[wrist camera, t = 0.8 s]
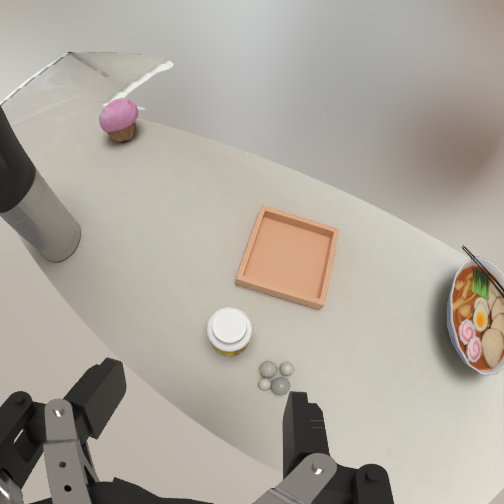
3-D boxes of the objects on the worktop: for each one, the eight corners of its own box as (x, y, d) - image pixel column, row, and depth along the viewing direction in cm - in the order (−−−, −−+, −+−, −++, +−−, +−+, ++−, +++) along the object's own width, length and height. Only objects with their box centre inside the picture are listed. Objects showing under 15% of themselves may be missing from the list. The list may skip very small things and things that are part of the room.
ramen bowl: (402, 329, 42) (430, 318, 35) (447, 246, 50) (470, 228, 43) (473, 403, 36) (502, 401, 29) (507, 317, 44) (531, 307, 36)
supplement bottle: (234, 363, 39) (235, 359, 30) (203, 341, 40) (194, 330, 31) (256, 333, 41) (263, 320, 32) (225, 312, 42) (223, 292, 33)
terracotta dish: (235, 284, 44) (235, 278, 42) (260, 213, 50) (261, 205, 48) (319, 309, 43) (324, 305, 41) (334, 236, 49) (338, 229, 47)
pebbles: (253, 387, 38) (254, 388, 35) (263, 355, 40) (265, 354, 37) (285, 396, 37) (288, 397, 35) (294, 364, 39) (298, 363, 37)
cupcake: (144, 121, 59) (136, 88, 50) (142, 144, 56) (132, 110, 47) (110, 129, 58) (98, 98, 49) (105, 153, 55) (91, 120, 46)
